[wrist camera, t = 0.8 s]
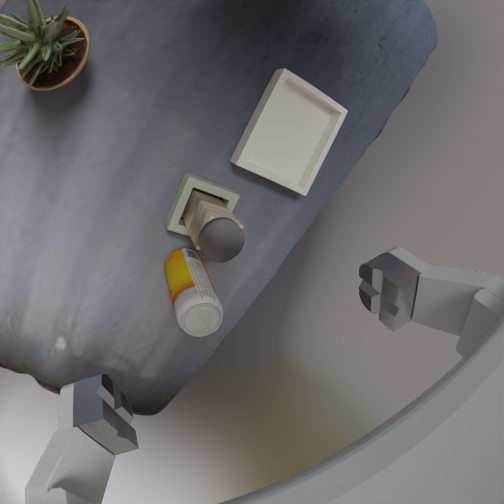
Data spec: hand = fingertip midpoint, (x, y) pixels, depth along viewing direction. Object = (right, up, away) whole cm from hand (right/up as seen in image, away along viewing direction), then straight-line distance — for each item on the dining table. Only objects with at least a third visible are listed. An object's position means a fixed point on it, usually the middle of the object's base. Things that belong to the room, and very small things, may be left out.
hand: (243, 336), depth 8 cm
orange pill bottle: (-11, +1, +41) cm, 42 cm away
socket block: (-8, +9, +37) cm, 39 cm away
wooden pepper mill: (-8, +9, +37) cm, 39 cm away
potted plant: (-25, +28, +20) cm, 42 cm away
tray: (+6, +21, +37) cm, 43 cm away
